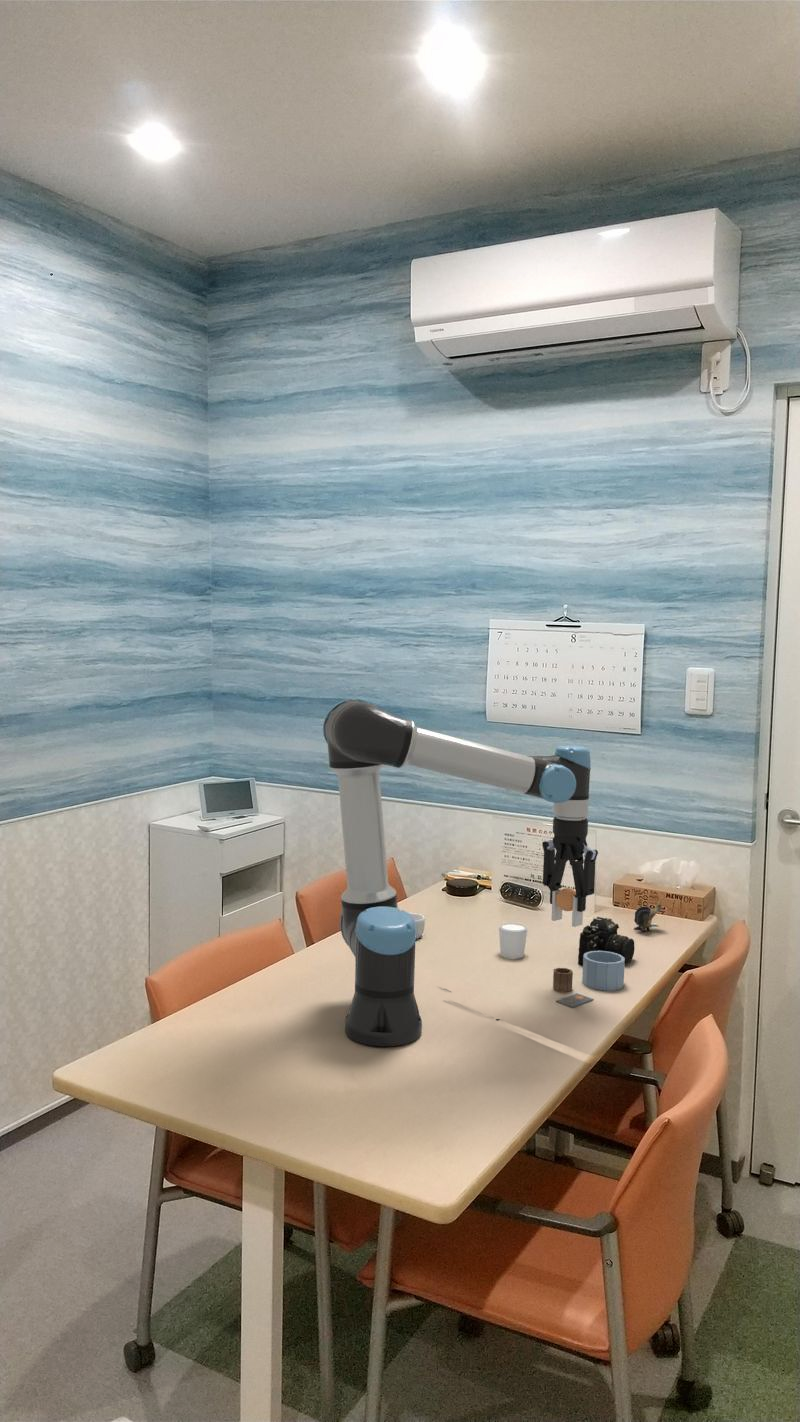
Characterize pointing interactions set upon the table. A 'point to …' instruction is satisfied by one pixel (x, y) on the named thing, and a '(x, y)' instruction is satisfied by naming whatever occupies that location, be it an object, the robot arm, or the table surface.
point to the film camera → (604, 940)
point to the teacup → (418, 923)
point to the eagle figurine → (646, 917)
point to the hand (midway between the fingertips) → (566, 922)
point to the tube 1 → (562, 979)
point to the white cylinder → (512, 940)
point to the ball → (565, 899)
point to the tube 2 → (603, 970)
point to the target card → (574, 1000)
